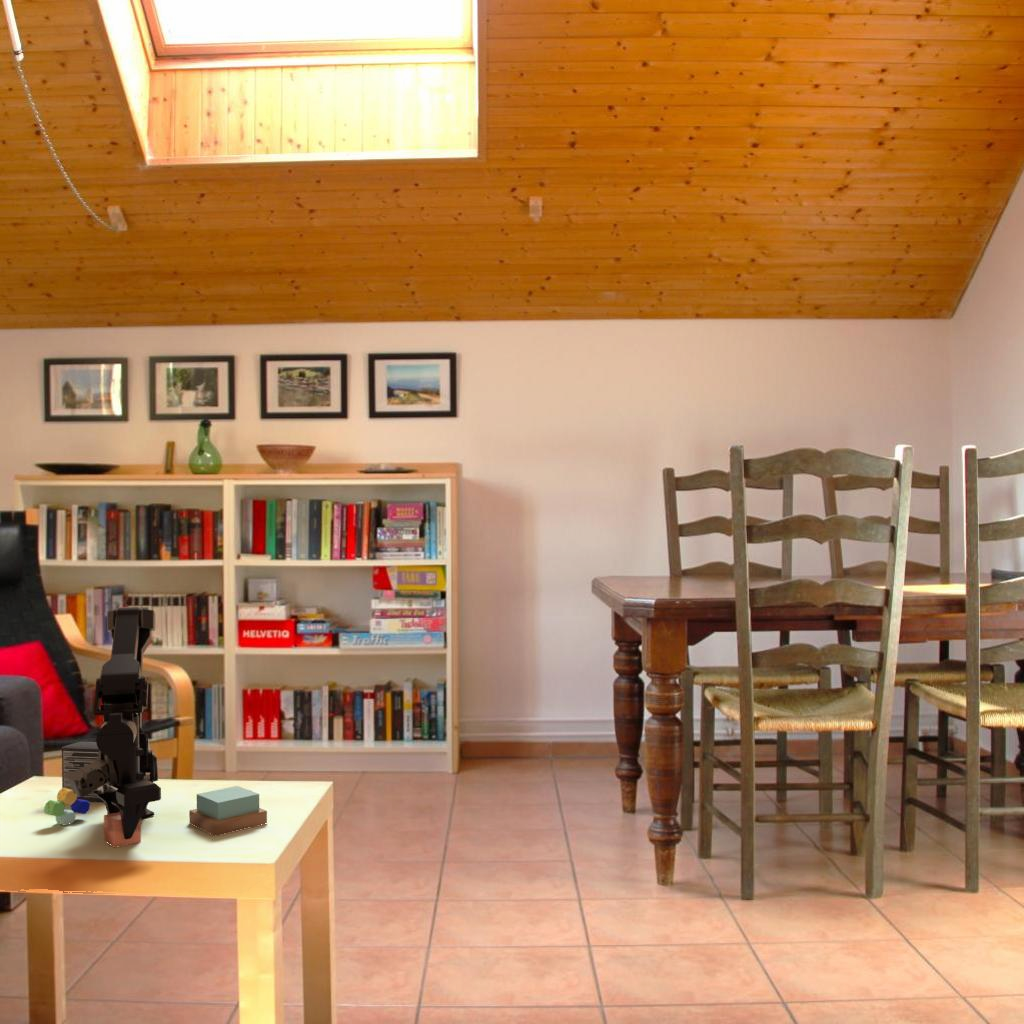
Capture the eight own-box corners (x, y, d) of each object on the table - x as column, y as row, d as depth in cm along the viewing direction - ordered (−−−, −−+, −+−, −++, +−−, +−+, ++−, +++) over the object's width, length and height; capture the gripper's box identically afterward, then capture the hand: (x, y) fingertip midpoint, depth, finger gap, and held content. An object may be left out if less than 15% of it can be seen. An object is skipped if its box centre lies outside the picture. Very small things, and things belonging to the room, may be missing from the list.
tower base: (189, 827, 188) (189, 810, 188) (240, 815, 194) (240, 799, 194) (214, 839, 180) (214, 822, 180) (267, 827, 187) (266, 810, 187)
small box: (128, 794, 208) (127, 741, 208) (108, 803, 202) (107, 748, 202) (81, 791, 211) (80, 739, 211) (60, 800, 204) (59, 746, 204)
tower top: (196, 810, 188) (196, 794, 188) (237, 802, 193) (237, 785, 193) (218, 820, 182) (218, 802, 182) (259, 810, 187) (259, 793, 187)
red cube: (104, 841, 178) (103, 815, 178) (130, 835, 181) (130, 809, 181) (114, 847, 175) (114, 820, 175) (140, 841, 178) (140, 815, 178)
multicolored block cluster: (83, 816, 193) (82, 781, 193) (91, 818, 192) (91, 783, 192) (42, 827, 187) (42, 791, 187) (50, 829, 185) (50, 793, 185)
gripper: (53, 742, 179) (54, 833, 179) (93, 761, 165) (94, 859, 165) (118, 732, 187) (119, 820, 187) (161, 749, 173) (162, 844, 173)
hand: (122, 835), depth 178 cm, fingers closed on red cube, 4 cm apart
